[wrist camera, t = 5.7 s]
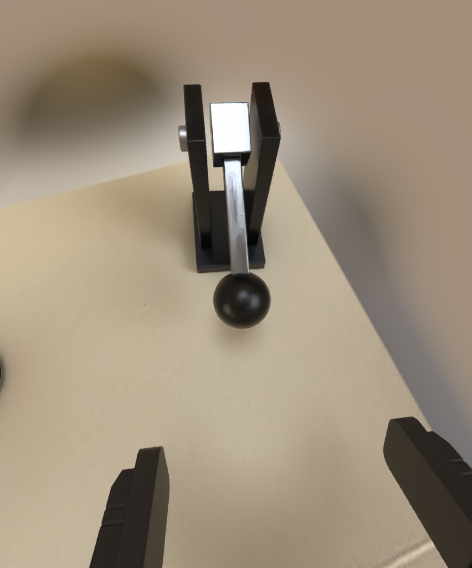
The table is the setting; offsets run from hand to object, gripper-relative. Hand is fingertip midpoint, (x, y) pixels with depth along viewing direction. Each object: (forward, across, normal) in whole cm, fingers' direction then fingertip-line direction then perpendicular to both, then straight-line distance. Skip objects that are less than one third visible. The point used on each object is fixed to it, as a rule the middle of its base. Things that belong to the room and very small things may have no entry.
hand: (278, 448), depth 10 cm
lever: (+13, 0, -5) cm, 14 cm away
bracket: (+21, 0, -3) cm, 21 cm away
